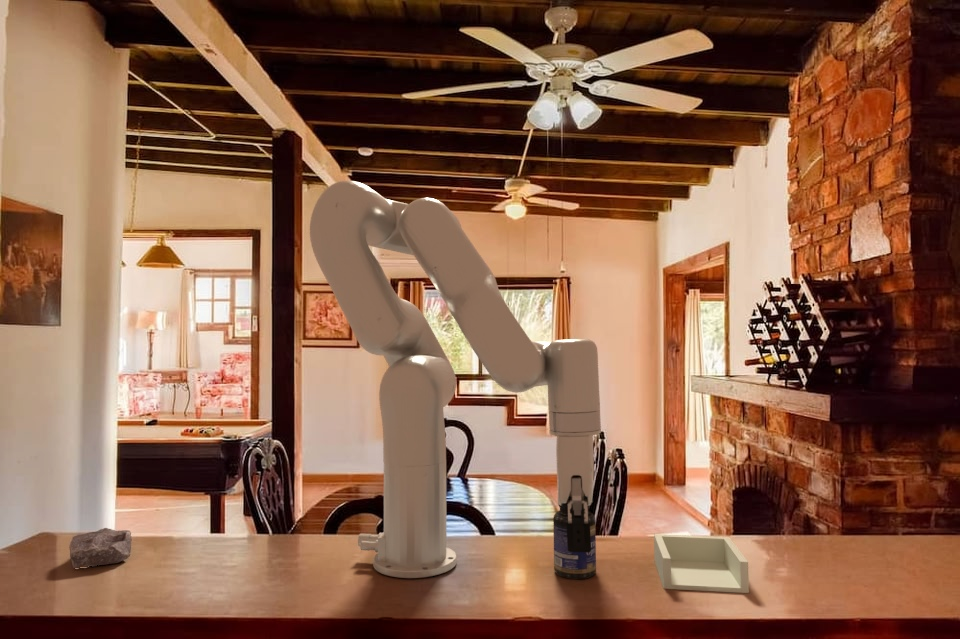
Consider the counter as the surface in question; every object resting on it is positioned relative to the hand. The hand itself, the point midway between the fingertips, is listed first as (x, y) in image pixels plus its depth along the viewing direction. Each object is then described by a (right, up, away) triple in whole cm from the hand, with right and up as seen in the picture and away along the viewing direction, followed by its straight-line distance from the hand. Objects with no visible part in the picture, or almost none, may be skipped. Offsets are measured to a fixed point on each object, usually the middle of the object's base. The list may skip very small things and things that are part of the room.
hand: (579, 540), depth 93 cm
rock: (-74, -6, +7) cm, 74 cm away
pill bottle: (-1, -5, 0) cm, 5 cm away
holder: (+17, -4, -2) cm, 17 cm away
